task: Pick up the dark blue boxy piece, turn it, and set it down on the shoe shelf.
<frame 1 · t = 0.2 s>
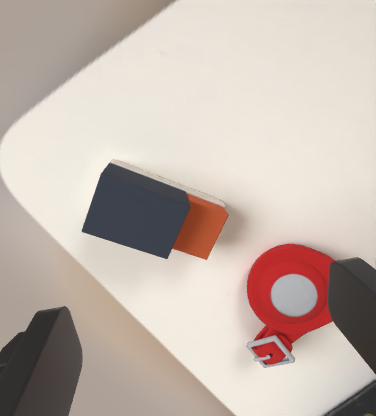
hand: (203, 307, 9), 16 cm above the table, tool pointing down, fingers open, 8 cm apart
tracker holder: (278, 292, 29), on the table
dark blue boxy piece: (146, 198, 24), on the table
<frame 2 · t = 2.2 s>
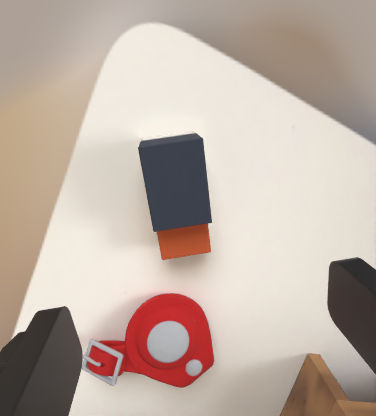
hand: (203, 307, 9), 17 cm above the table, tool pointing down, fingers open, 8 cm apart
tracker holder: (151, 328, 30), on the table
shoe shelf: (349, 396, 36), on the table
dark blue boxy piece: (174, 176, 25), on the table
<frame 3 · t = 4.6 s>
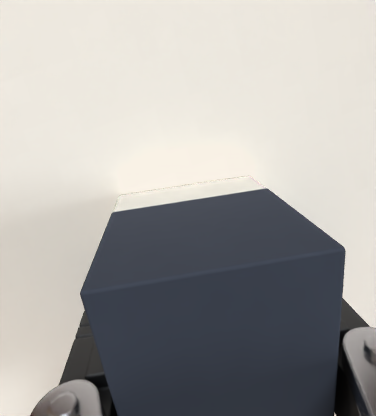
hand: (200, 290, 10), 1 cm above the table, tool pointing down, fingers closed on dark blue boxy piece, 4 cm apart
dark blue boxy piece: (198, 278, 10), on the table, touching gripper
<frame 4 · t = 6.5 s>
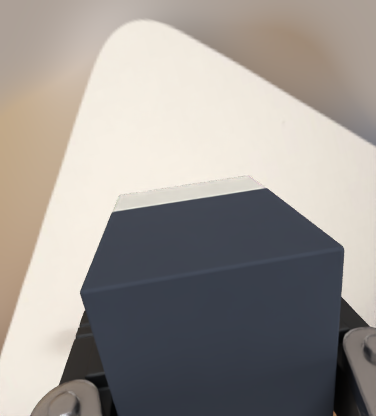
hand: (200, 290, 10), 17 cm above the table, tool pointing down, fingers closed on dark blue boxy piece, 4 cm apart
dark blue boxy piece: (197, 278, 10), point 16 cm above the table, touching gripper
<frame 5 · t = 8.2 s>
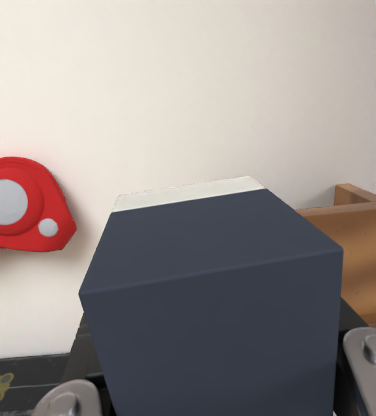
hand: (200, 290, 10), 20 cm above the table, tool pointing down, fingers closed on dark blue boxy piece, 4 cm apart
tracker holder: (10, 207, 28), on the table
shoe shelf: (273, 243, 32), on the table
cash box: (79, 409, 38), on the table
dark blue boxy piece: (197, 278, 10), point 19 cm above the table, touching gripper
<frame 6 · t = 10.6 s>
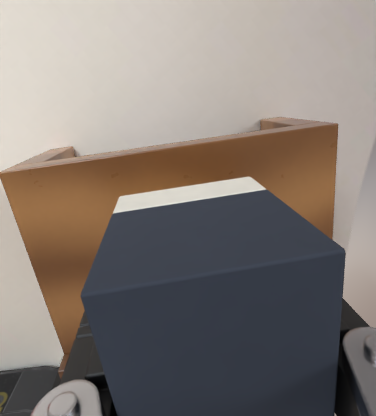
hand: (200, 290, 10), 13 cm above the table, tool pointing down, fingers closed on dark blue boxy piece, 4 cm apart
shoe shelf: (179, 213, 22), on the table
dark blue boxy piece: (198, 279, 10), point 12 cm above the table, touching gripper
when the fingers open (8 cm above the table, at t = 12.2 s): dark blue boxy piece stays where it is, resting on shoe shelf.
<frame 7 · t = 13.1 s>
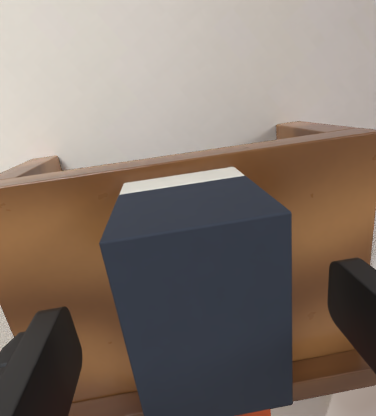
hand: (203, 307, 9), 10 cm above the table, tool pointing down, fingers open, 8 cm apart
shoe shelf: (182, 231, 19), on the table
dark blue boxy piece: (190, 256, 12), point 7 cm above the table, touching shoe shelf
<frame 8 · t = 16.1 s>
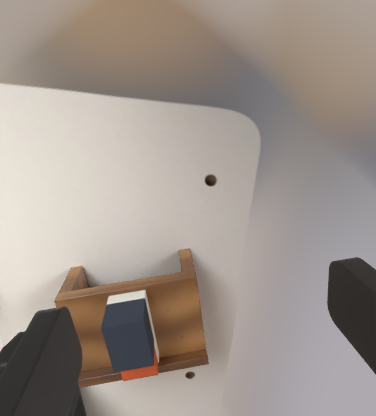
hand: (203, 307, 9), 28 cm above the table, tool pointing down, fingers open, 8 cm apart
shoe shelf: (139, 294, 41), on the table
dark blue boxy piece: (132, 317, 34), point 7 cm above the table, touching shoe shelf
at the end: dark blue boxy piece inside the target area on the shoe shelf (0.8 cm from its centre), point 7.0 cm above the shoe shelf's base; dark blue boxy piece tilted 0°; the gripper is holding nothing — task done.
